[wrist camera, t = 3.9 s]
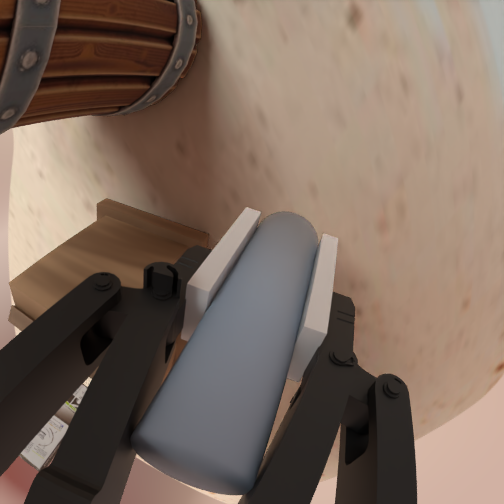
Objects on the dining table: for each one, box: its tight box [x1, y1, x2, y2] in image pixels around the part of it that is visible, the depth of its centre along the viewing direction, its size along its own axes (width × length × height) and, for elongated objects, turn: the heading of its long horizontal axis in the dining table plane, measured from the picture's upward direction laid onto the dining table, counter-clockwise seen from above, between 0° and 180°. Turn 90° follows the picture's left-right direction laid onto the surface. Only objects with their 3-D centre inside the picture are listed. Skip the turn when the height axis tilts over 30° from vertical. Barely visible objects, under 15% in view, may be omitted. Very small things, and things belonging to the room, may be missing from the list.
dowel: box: [130, 212, 318, 495], centre depth 11 cm, size 3×3×12 cm
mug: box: [0, 0, 202, 134], centre depth 11 cm, size 16×11×15 cm
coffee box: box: [19, 384, 87, 472], centre depth 36 cm, size 9×6×16 cm
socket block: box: [8, 198, 209, 387], centre depth 22 cm, size 16×9×12 cm, turn 166°
